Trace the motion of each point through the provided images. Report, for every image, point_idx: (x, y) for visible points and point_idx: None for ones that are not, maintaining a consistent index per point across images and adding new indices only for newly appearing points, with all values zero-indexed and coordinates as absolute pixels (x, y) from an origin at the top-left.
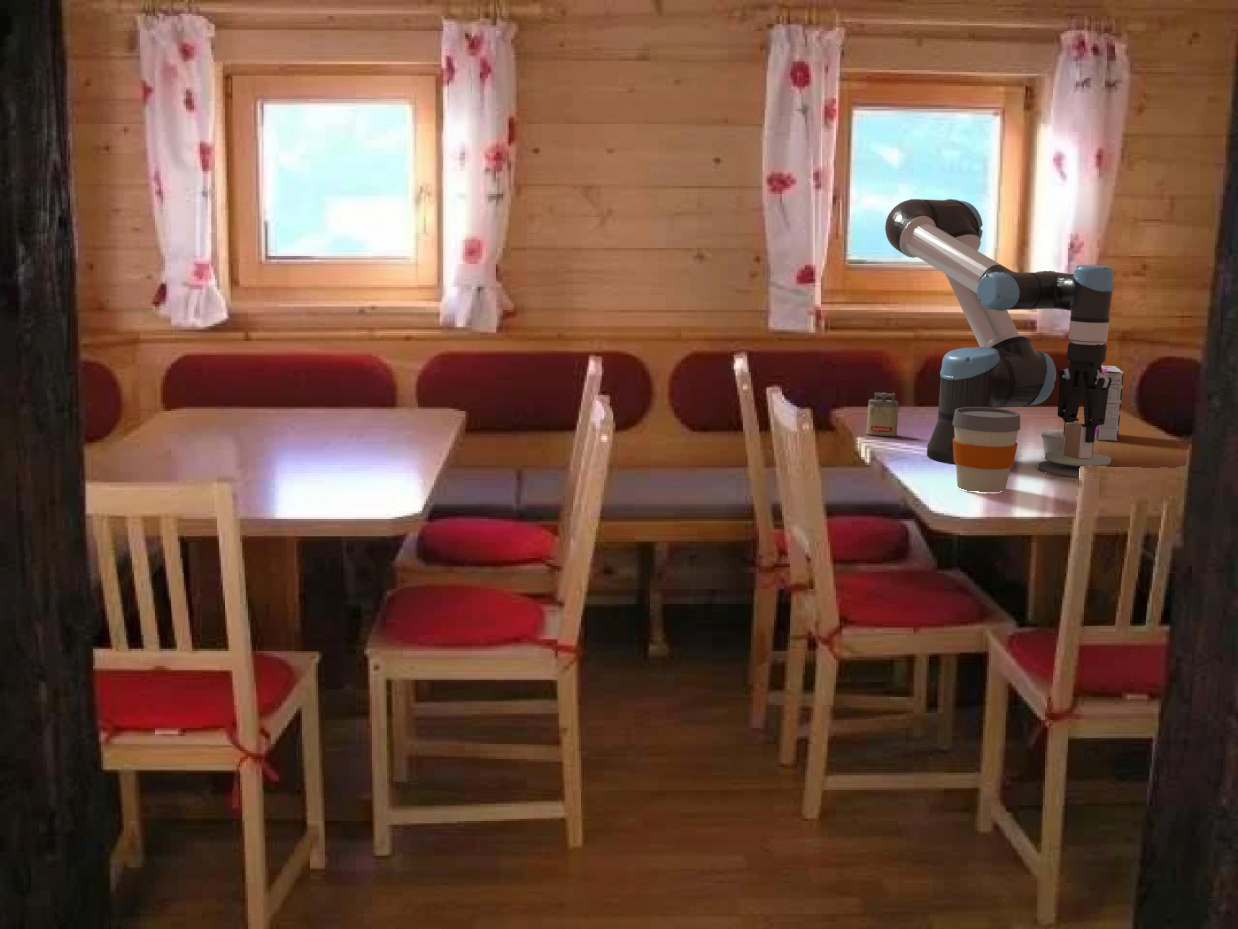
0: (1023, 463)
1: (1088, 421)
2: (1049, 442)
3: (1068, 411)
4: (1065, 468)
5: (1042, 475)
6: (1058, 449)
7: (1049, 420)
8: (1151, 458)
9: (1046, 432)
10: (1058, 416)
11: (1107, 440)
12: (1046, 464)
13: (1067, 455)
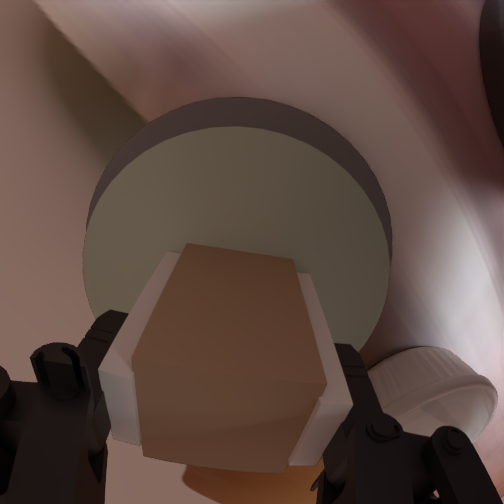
0: (443, 190)
1: (32, 403)
2: (454, 371)
3: (358, 501)
4: None
5: (235, 49)
6: (413, 369)
7: (500, 480)
8: (267, 498)
9: (488, 411)
10: (451, 427)
11: None
12: None
13: (261, 255)
